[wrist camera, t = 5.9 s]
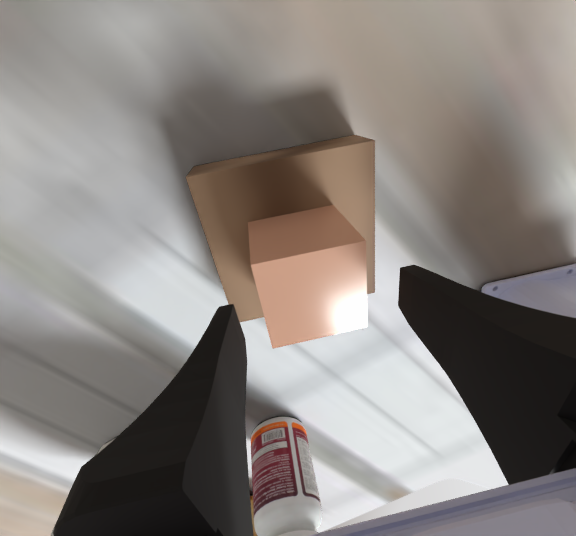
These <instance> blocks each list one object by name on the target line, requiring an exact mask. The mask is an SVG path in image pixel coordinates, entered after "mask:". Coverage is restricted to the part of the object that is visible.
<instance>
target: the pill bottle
mask: <svg viewBox="0 0 576 536" xmlns="http://www.w3.org/2000/svg"><path fill="white" fill-rule="evenodd" d="M251 460H252V483H253V509H254V511H253V513H254V517H253V518H254V528H255V531H256V534H257V535H258V536H309V535H313V534H317V533H318V532H316V530H317V529H318V527H319V526H320V524H321V521H322V508H321V502H320V498H319V493H318V488H317V483H316V478H315V473H314V469H313V464H312V459H311V454H310V449H309V445H308V440H307V435H306V430H305V427H304V425H303V424H302V423H301V422H300V421H298V420H297V419H294V418H291V417H275V418H272V419H269V420H267V421H264V422H263V423H261V424H260V425H258V426H257V427H256V428H255V429H254V431H253V432H252V435H251Z"/></svg>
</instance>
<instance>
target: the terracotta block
mask: <svg viewBox="0 0 576 536" xmlns="http://www.w3.org/2000/svg"><path fill="white" fill-rule="evenodd" d="M248 233H249V248H250V262H251V268H252V272H253V276H254V280H255V283H256V287H257V291H258V295H259V299H260V302H261V306H262V310H263V314H264V318H265V321H266V325H267V329H268V333H269V337H270V340H271V344H272V348H277V347H282V346H286V345H291V344H295V343H300V342H304V341H308V340H313V339H317V338H322V337H326V336H331V335H335V334H339V333H344V332H348V331H353V330H357V329H362V328H366V327H368V322H367V264H366V240H365V239H364V238H363V237H362V236H361V235H360V233H359V232H358V231H357V230H356V229H355V228H354V227H353V226H352V225H351V224H350V223H349V221H348V220H347V219H346V218H345V217H344V216H343V215H342V214H341V213H340V212H339V211H338V210H337V208H336V207H335V206H334V205H330V206H325V207H320V208H315V209H310V210H305V211H300V212H295V213H291V214H286V215H281V216H276V217H271V218H266V219H261V220H256V221H251V222H248Z"/></svg>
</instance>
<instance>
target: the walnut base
mask: <svg viewBox="0 0 576 536" xmlns="http://www.w3.org/2000/svg"><path fill="white" fill-rule="evenodd" d="M186 180H187V183H188V186H189V189H190V192H191V194H192V197H193V200H194V203H195V206H196V209H197V212H198V215H199V218H200V221H201V224H202V227H203V230H204V233H205V236H206V239H207V242H208V245H209V248H210V250H211V253H212V256H213V259H214V262H215V265H216V268H217V271H218V274H219V277H220V280H221V283H222V286H223V289H224V292H225V295H226V298H227V301H228V304H229V305H230V304H234V307H235V310H236V313H237V316H238V319H239V322H243V321H248V320H252V319H257V318H261V317H264V314H263V310H262V306H261V302H260V299H259V295H258V291H257V287H256V283H255V280H254V276H253V272H252V268H251V262H250V248H249V233H248V222H251V221H256V220H261V219H266V218H271V217H276V216H281V215H286V214H291V213H295V212H300V211H305V210H310V209H315V208H320V207H325V206H330V205H334V206H335V207H336V208H337V210H338V211H339V212H340V213H341V214H342V215H343V216H344V217H345V218H346V219H347V220H348V221H349V223H350V224H351V225H352V226H353V227H354V228H355V229H356V230H357V231H358V232H359V233H360V235H361V236H362V237H363V238H364V239H365V240H366V264H367V294H370V293H375V140H372V139H368V138H364V137H361V136H357V135H352V136H347V137H342V138H336V139H331V140H326V141H321V142H316V143H311V144H306V145H301V146H295V147H290V148H285V149H280V150H275V151H270V152H265V153H259V154H254V155H249V156H244V157H239V158H234V159H229V160H224V161H218V162H213V163H208V164H203V165H198V166H194V167H193V168H192V169H191V171H190V172H189V174H188V175H187V176H186Z"/></svg>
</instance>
